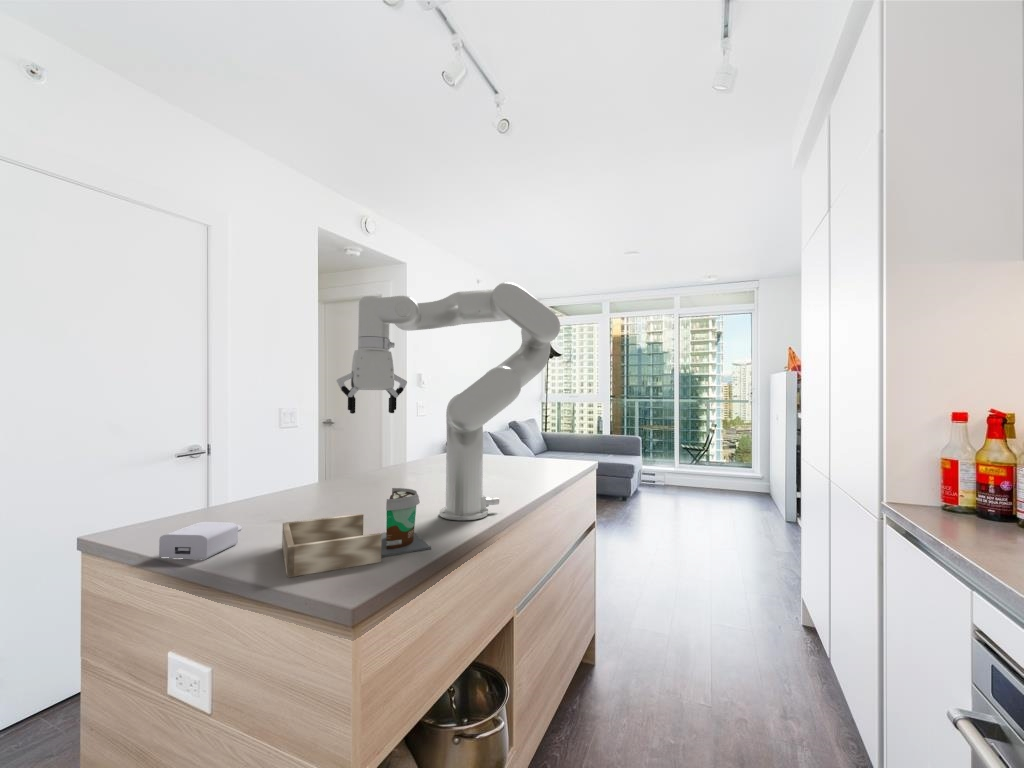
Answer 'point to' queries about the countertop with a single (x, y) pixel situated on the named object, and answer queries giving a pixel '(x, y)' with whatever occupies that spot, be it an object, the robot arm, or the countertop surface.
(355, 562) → the open box
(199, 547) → the charger
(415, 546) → the mat
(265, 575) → the countertop surface
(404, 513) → the food container
